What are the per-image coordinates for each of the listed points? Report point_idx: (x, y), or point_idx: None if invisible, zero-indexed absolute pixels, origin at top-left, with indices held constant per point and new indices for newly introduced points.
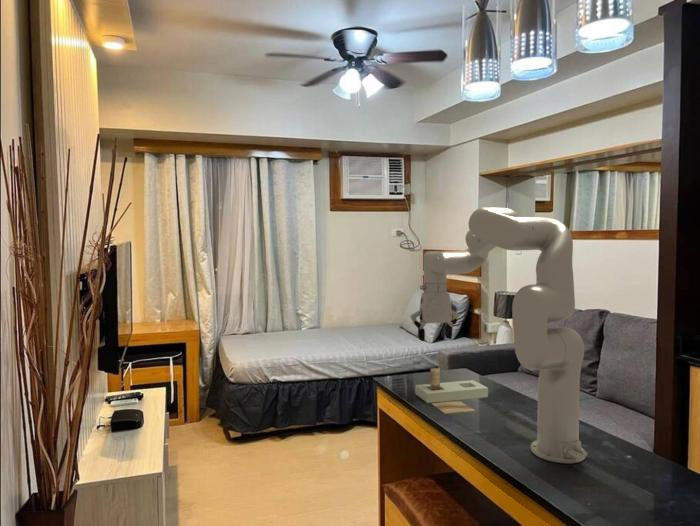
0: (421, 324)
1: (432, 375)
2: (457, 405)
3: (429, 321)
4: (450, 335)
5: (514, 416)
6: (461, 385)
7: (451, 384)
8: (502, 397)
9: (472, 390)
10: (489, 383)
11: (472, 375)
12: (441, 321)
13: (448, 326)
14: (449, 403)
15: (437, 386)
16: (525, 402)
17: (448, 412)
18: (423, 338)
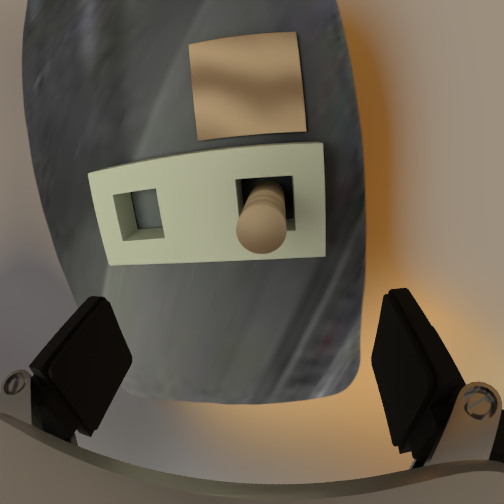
0: (494, 436)
1: (281, 209)
2: (224, 95)
3: (441, 501)
4: (81, 313)
5: (105, 26)
6: (154, 236)
7: (188, 234)
8: (72, 176)
9: (137, 162)
10: (79, 293)
11: None
12: (79, 471)
13: (56, 403)
14: (243, 118)
15: (262, 188)
16: (42, 132)
17: (281, 39)
18: (408, 300)
